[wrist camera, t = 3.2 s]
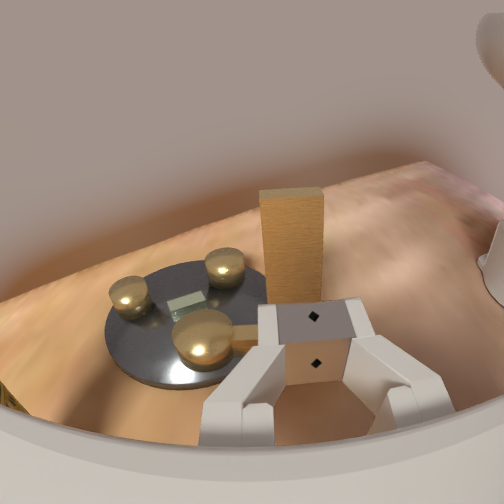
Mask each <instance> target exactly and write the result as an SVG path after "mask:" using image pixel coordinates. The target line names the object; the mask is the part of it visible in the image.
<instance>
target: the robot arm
mask: <svg viewBox="0 0 504 504" xmlns="http://www.w3.org/2000/svg"><path fill="white" fill-rule="evenodd" d="M476 46H477V51H478V54H479V57H480V59H481V61H482V63H483V65H484V67H485V69H486V70H487V71H488V72H489V74H490V75H491V77H492V78H493V79H494V80H495V81H496V82H497V83H498V84H499V85H500V86H501V87H502V88H503V90H504V13H487V14H486V15H485V16H484V17H483V18H482V19H481V21H480V22H479V25H478V27H477V31H476ZM477 264H478V266H479V268H480V269H481V270H482V272H483V276H484V282H485V285H486V287H487V289H488V290H489V292H490V293H491V295H492V296H493V297H494V298H495V299H496V300H497V301H498V302H499V303H500V304H501V305H502V306H504V220H502V221H500V222H499V223H498V226H497V229H496V232H495V235H494V238H493V241H492V244H491V246H490V249H489V252H488V253H487V254H484V255H482V256H480V257H479V258H478V261H477ZM338 380H342V382H343V383H344V384H345V385H346V386H347V387H348V388H349V389H350V390H351V391H352V392H353V393H354V394H355V395H356V396H357V397H358V398H359V399H360V400H361V402H362V403H363V404H364V405H365V406H366V407H367V408H368V409H369V410H370V411H371V412H372V413H373V414H374V415H375V416H376V418H375V420H374V422H373V424H372V426H371V427H370V429H369V431H368V433H367V435H365V436H360V437H354V438H348V439H341V440H334V441H327V442H319V443H309V444H299V445H286V446H275V435H274V416H273V407H274V405H275V403H276V402H277V400H278V399H279V397H280V395H281V394H282V392H283V390H284V389H285V386H286V385H296V384H306V383H314V382H327V381H338ZM0 504H504V394H502V395H500V396H497V397H495V398H492V399H490V400H488V401H485V402H483V403H480V404H477V405H475V406H472V407H469V408H467V409H464V410H461V411H458V412H456V411H455V409H454V407H453V404H452V402H451V399H450V397H449V395H448V392H447V390H446V388H445V385H444V383H443V381H442V379H441V376H439V375H438V374H436V373H435V372H434V371H432V370H431V369H429V368H428V367H426V366H425V365H424V364H422V363H421V362H419V361H418V360H416V359H415V358H413V357H412V356H411V355H409V354H408V353H406V352H405V351H403V350H402V349H401V348H399V347H398V346H396V345H395V344H393V343H392V342H390V341H389V340H388V339H386V338H385V337H383V336H382V335H376V334H375V332H374V329H373V327H372V324H371V322H370V319H369V317H368V315H367V312H366V310H365V307H364V305H363V303H362V300H361V299H360V298H359V297H355V298H347V299H341V300H330V301H318V302H303V303H281V304H262V305H258V346H253V347H252V348H251V349H250V350H249V351H248V353H247V354H246V355H245V356H244V357H243V358H242V360H241V361H240V362H239V363H238V364H237V365H236V367H235V368H234V369H233V370H232V371H231V372H230V373H229V375H228V376H227V377H226V378H225V379H224V380H223V381H222V382H221V384H220V385H219V386H218V387H217V388H216V389H215V390H214V391H213V393H212V394H211V395H210V396H209V397H208V398H207V399H206V400H205V401H204V404H203V412H202V420H201V428H200V436H199V444H198V446H189V445H176V444H166V443H157V442H148V441H141V440H134V439H127V438H121V437H116V436H110V435H105V434H100V433H95V432H90V431H86V430H82V429H77V428H73V427H69V426H66V425H62V424H58V423H55V422H51V421H48V420H44V419H41V418H38V417H35V416H32V415H29V414H26V413H23V412H20V411H17V410H14V409H11V408H9V407H6V406H4V405H1V404H0Z"/></svg>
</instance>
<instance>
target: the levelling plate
mask: <svg viewBox="0 0 504 504" xmlns="http://www.w3.org/2000/svg"><path fill="white" fill-rule="evenodd" d="M109 296H110V298H111V301H112V303H113V307H112V308H111V310H110V312H109V314H108V317H107V320H106V325H105V340H106V344H107V347H108V350H109V352H110V354H111V355H112V357H113V359H114V360H115V362H116V363H117V365H118V366H119V367H120V368H121V369H122V370H123V371H124V372H125V373H126V374H127V375H129V376H130V377H131V378H133V379H135V380H137V381H139V382H141V383H143V384H146V385H149V386H152V387H155V388H160V389H166V390H193V389H199V388H204V387H209V386H212V385H215V384H219V383H221V382H222V381H223V380H224V379H225V378H226V377H227V376H228V375H229V373H230V372H231V371H232V370H233V369H234V368H235V367H236V365H237V364H238V363H239V362H240V361H241V360H242V358H243V357H244V356H235V357H233V359H232V360H231V361H230V363H229V364H227V365H226V366H225V367H223V368H221V369H219V370H217V371H213V372H208V373H200V372H195V371H192V370H190V369H188V368H186V367H185V366H184V365H183V364H182V362H181V361H180V358H179V356H178V353H177V350H176V348H175V345H174V343H173V340H172V329H173V327H174V325H175V323H176V322H177V321H178V320H179V319H180V318H181V317H183V316H184V315H186V314H188V313H190V312H193V311H196V310H201V309H212V310H217V311H220V312H222V313H224V314H225V315H227V316H228V317H229V319H230V320H231V322H232V326H238V325H257V324H258V305H262V304H268V303H267V289H266V278H265V277H264V276H263V275H261V274H260V273H259V272H257V271H255V270H253V269H251V268H249V267H246V266H244V259H243V253H242V252H241V251H240V250H238V249H235V248H220V249H217V250H214V251H212V252H210V253H209V254H208V255H207V256H206V257H205V260H201V261H191V262H185V263H180V264H176V265H172V266H169V267H166V268H163V269H160V270H158V271H156V272H153V273H151V274H149V275H148V276H146V277H144V278H142V277H139V276H129V277H125V278H122V279H120V280H118V281H117V282H115V283H114V284H113V285H112V286H111V288H110V289H109Z"/></svg>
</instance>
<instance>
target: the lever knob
mask: <svg viewBox="0 0 504 504" xmlns="http://www.w3.org/2000/svg"><path fill="white" fill-rule="evenodd" d="M259 198H260V199H259V200H260V212H261V224H262V237H263V250H264V263H265V276H266V289H267V303H268V304H281V303H303V302H318V301H320V298H321V281H322V260H323V231H324V194H323V193H322V191H321V189H320V187H307V188H306V187H305V188H287V189H273V190H260V191H259ZM172 340H173V343H174V345H175V348H176V350H177V353H178V356H179V358H180V361H181V362H182V364H183V365H184V366H185V367H186V368H188V369H190V370H192V371H195V372H200V373H208V372H213V371H217V370H219V369H221V368H223V367H225V366H226V365H227V364H229V363H230V361H231V360H232V359H233V357H235V356H245V355H246V354H247V353H248V351H249V350H250V349H251V348H252V347H253V346H258V324H257V325H238V326H232V322H231V320H230V319H229V317H228V316H227V315H225V314H224V313H222V312H220V311H217V310H212V309H201V310H196V311H193V312H190V313H188V314H186V315H184V316H183V317H181V318H180V319H179V320H178V321H177V322H176V323H175V325H174V327H173V329H172Z"/></svg>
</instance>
